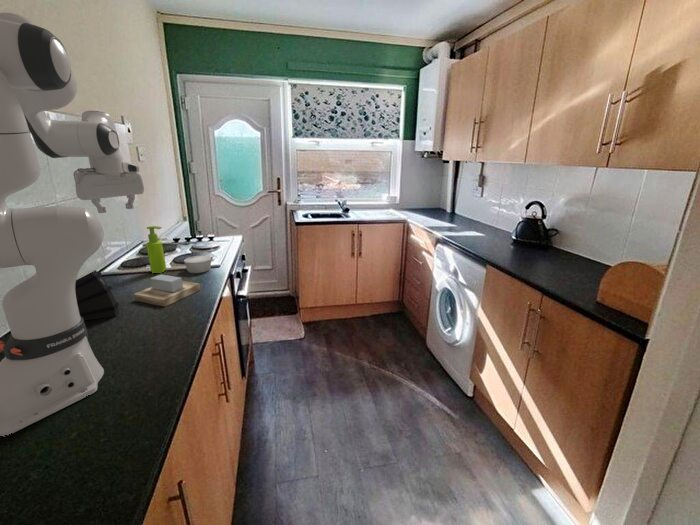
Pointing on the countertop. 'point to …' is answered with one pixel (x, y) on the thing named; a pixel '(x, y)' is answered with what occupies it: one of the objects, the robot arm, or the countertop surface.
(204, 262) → the ramekin
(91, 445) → the countertop surface
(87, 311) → the black ridged block
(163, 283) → the block
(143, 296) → the board
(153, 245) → the soap dispenser
